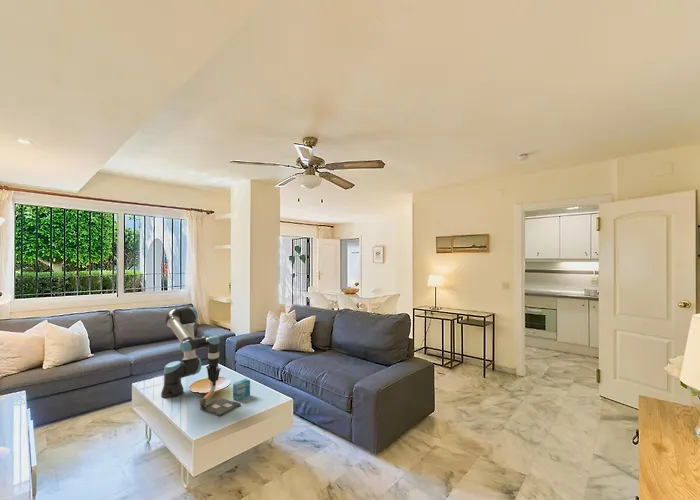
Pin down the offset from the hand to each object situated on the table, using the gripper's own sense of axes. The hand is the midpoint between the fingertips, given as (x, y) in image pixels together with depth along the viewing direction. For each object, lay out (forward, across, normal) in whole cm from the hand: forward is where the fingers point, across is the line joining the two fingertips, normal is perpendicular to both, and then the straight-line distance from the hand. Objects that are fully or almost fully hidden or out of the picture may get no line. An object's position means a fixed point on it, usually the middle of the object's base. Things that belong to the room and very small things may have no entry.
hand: (213, 389), depth 239 cm
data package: (+9, -13, -15) cm, 22 cm away
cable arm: (+5, 0, +4) cm, 7 cm away
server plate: (+8, -13, +4) cm, 16 cm away
